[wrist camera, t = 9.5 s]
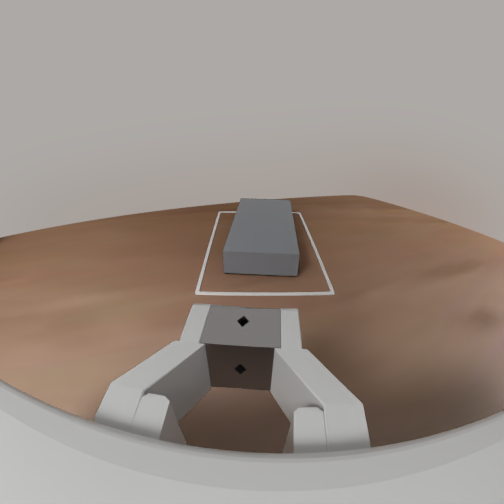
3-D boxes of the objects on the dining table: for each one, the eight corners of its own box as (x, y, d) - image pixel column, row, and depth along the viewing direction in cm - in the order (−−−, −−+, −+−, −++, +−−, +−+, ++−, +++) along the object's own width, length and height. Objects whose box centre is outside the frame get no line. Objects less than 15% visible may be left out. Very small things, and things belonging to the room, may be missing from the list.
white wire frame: (194, 294, 21) (218, 211, 37) (195, 299, 21) (218, 215, 37) (335, 293, 21) (300, 212, 37) (334, 299, 21) (300, 216, 37)
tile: (222, 251, 23) (240, 198, 35) (224, 277, 24) (240, 217, 36) (299, 254, 22) (289, 200, 35) (296, 281, 24) (288, 219, 36)
